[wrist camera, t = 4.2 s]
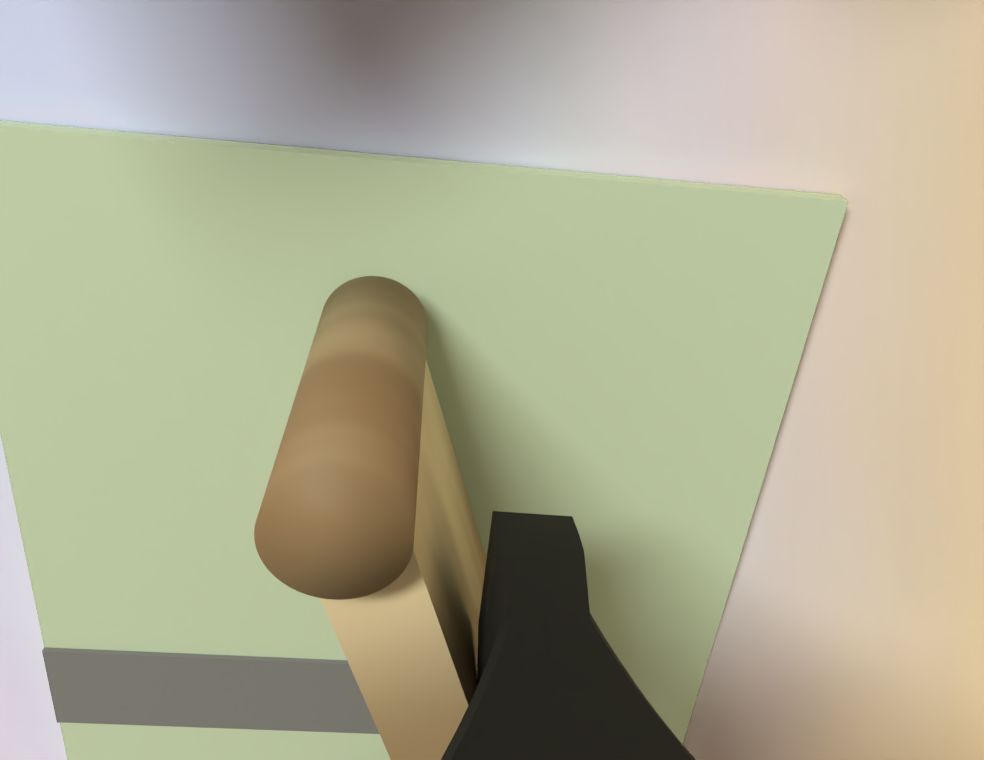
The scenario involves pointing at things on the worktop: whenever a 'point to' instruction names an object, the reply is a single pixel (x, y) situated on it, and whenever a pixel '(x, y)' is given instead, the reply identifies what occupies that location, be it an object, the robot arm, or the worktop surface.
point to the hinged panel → (380, 516)
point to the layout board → (455, 374)
